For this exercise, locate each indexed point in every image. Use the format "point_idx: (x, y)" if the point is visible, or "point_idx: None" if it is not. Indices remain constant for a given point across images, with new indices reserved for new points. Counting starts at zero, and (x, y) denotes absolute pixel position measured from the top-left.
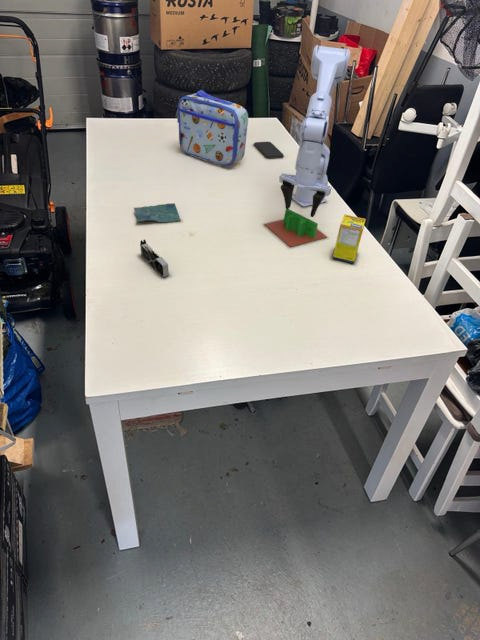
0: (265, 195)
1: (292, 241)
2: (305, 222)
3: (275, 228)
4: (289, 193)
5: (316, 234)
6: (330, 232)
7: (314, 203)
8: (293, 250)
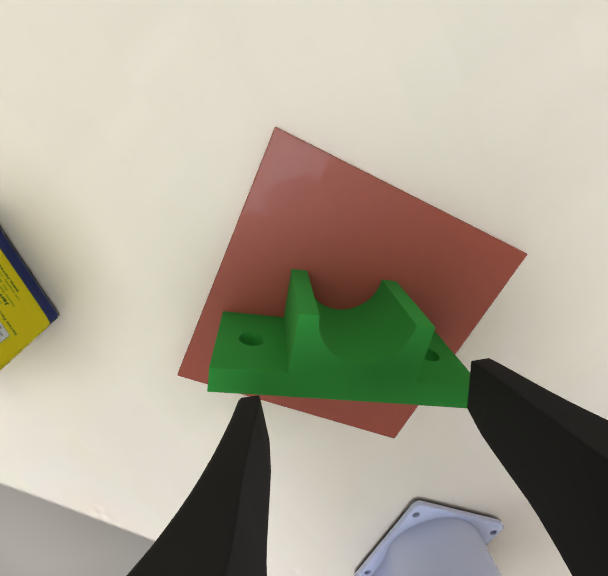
0: None
1: (296, 195)
2: (290, 352)
3: (452, 255)
4: (604, 505)
5: None
6: (196, 421)
7: (206, 530)
8: (236, 107)
